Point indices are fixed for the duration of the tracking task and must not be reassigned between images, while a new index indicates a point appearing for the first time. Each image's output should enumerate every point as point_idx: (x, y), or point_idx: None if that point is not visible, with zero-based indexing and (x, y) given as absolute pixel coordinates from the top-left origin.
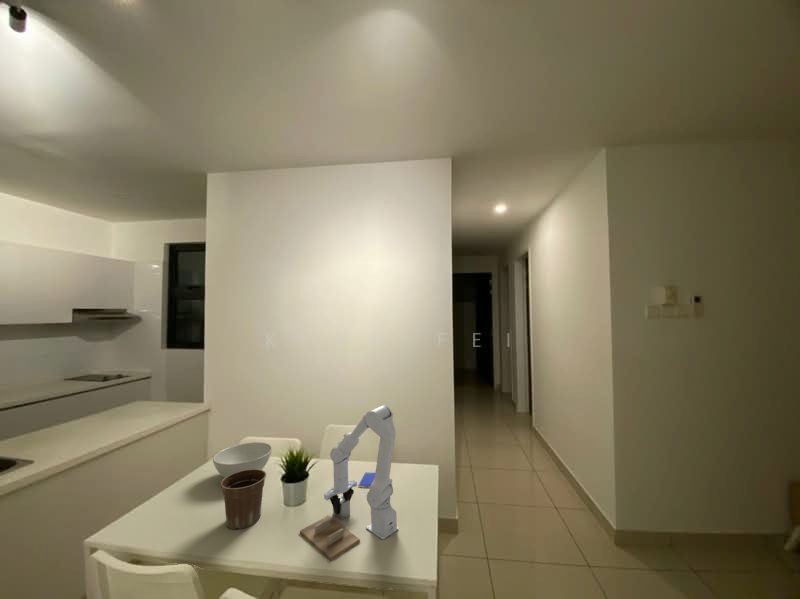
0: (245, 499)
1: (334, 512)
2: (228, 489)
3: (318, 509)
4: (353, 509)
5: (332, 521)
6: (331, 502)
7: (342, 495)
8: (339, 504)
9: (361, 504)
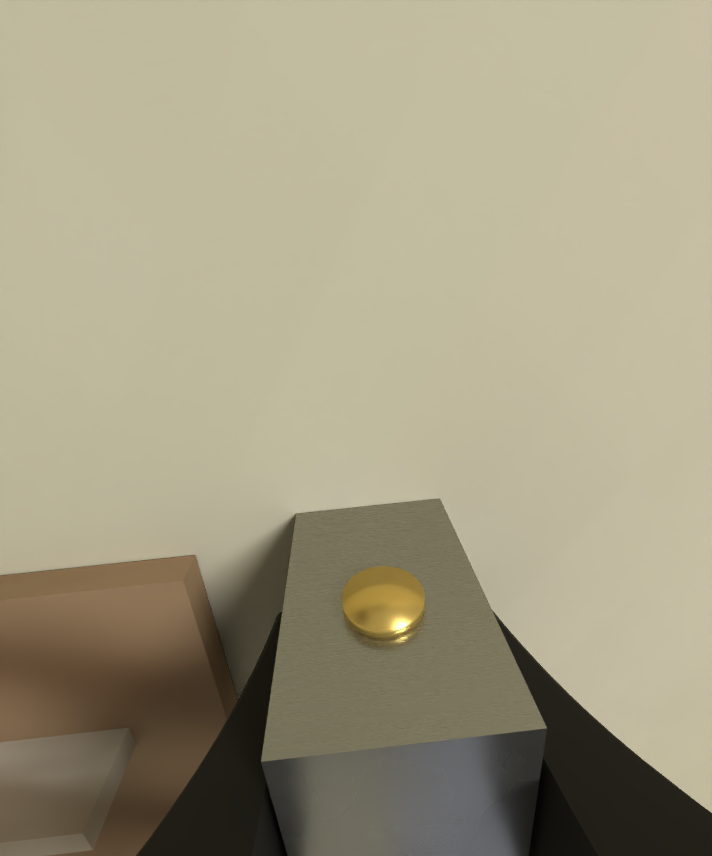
0: None
1: (275, 621)
2: None
3: (136, 240)
4: (546, 589)
5: (189, 700)
6: (180, 802)
7: (535, 775)
8: None
9: (687, 565)
